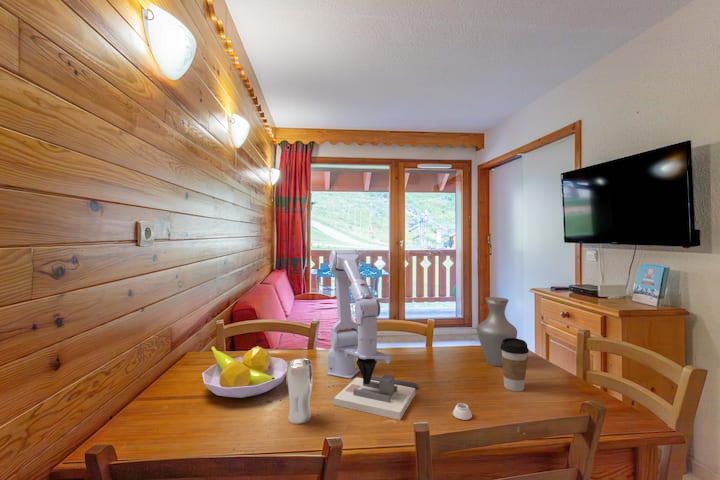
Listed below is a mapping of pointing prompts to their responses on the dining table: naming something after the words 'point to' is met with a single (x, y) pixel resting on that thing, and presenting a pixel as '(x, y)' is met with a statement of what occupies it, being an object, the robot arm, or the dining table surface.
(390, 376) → the switch knob
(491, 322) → the vase
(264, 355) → the fruit bowl
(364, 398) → the white board with rails
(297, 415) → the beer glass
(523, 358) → the coffee cup
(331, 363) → the robot arm
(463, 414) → the lidless jar
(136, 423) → the dining table surface
